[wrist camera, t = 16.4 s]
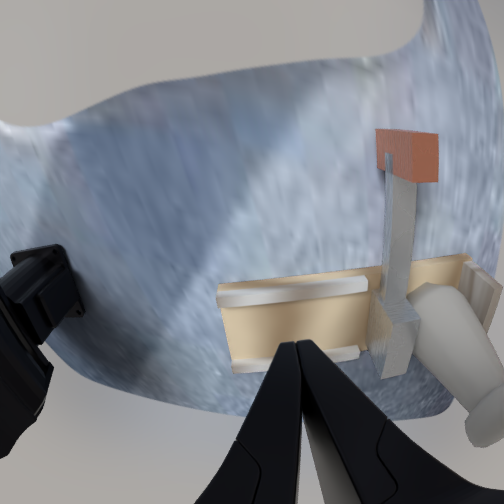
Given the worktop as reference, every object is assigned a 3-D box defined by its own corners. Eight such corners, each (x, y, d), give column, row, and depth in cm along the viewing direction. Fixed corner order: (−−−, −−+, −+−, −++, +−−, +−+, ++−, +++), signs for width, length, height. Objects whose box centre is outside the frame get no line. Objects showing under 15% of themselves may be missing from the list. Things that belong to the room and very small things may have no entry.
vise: (234, 358, 23) (230, 408, 19) (218, 284, 21) (209, 332, 16) (448, 322, 23) (476, 359, 18) (465, 252, 20) (503, 284, 15)
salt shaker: (409, 343, 22) (473, 466, 10) (377, 310, 20) (452, 459, 9) (459, 298, 20) (544, 406, 8) (434, 257, 19) (547, 378, 7)
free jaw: (363, 340, 22) (381, 380, 18) (372, 128, 15) (408, 132, 11) (386, 336, 22) (406, 374, 18) (401, 129, 15) (441, 134, 11)
